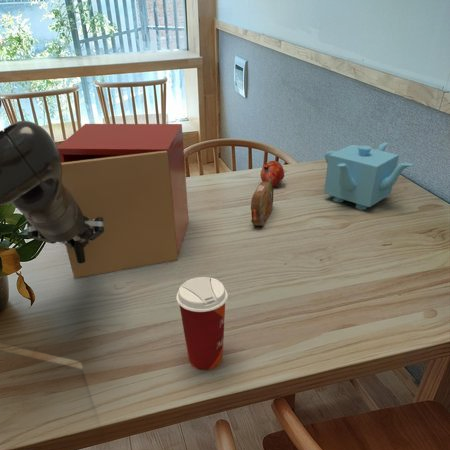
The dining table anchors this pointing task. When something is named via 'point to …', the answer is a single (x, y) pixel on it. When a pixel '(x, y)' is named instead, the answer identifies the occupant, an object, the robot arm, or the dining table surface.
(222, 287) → the paper cup
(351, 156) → the teakettle
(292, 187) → the dining table surface
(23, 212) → the robot arm
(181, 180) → the cabinet
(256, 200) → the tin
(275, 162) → the pomegranate
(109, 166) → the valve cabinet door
